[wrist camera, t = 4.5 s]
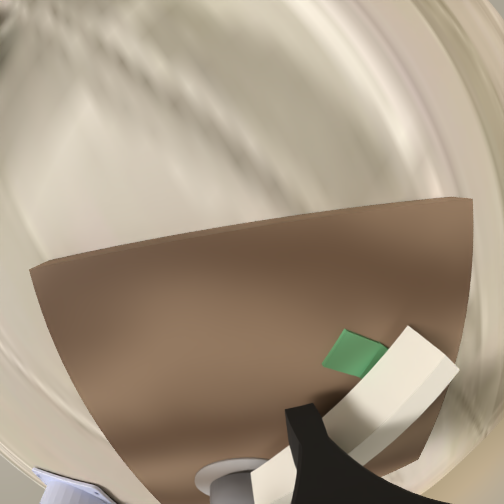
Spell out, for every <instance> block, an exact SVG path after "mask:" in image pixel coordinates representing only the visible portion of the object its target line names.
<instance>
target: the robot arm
mask: <svg viewBox="0 0 504 504" xmlns="http://www.w3.org/2000/svg"><path fill="white" fill-rule="evenodd" d="M285 417H286V425H287V433H288V442H289V445H290V449H291V453H292V457H293V461H294V464H295V467H296V469H297V474H296V480H295V486H294V491H293V496H292V500H291V504H450V503H446V502H441V501H437V500H433V499H430V498H426V497H423V496H421V495H418V494H415V493H412V492H410V491H407V490H405V489H403V488H401V487H399V486H396V485H394V484H392V483H390V482H388V481H386V480H384V479H383V478H381V477H379V476H378V475H376V474H374V473H373V472H371V471H370V470H368V469H367V468H365V467H364V466H362V465H361V464H359V463H358V462H357V461H355V460H354V459H353V458H352V457H350V456H349V455H348V454H347V453H346V452H344V451H343V450H342V449H341V448H340V447H339V446H338V445H337V444H336V443H335V442H334V441H333V440H332V439H331V438H330V437H328V434H327V431H326V428H325V425H324V423H323V420H322V417H321V415H320V413H319V412H318V410H317V408H316V407H315V405H314V404H313V403H310V404H306V405H302V406H297V407H293V408H288V409H285ZM32 471H33V472H34V473H35V474H36V475H37V476H38V477H39V478H40V479H41V480H42V481H43V482H44V483H45V484H46V485H47V487H46V489H45V492H44V494H43V496H42V498H41V501H40V503H39V504H116V503H115V502H114V501H113V500H112V499H111V498H110V497H108V496H107V495H106V494H105V493H104V492H103V491H102V490H101V489H100V488H99V487H97V486H95V485H92V484H88V483H84V482H80V481H76V480H72V479H68V478H65V477H61V476H58V475H55V474H52V473H49V472H46V471H43V470H40V469H37V468H34V467H33V469H32Z"/></svg>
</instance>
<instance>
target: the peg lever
mask: <svg viewBox="0 0 504 504" xmlns="http://www.w3.org/2000/svg"><path fill="white" fill-rule="evenodd" d="M459 370H460V369H459V368H458V367H457V366H456V365H455V364H454V363H453V362H452V361H451V360H450V359H449V358H448V357H447V356H446V355H445V354H444V353H442V352H441V351H440V350H439V349H437V348H436V347H435V346H434V345H432V344H431V343H430V342H429V341H427V340H426V339H425V338H423V337H422V336H421V335H420V334H418V333H417V332H416V331H415V330H413V329H412V328H411V327H409V326H407V327H406V328H405V330H404V331H403V332H402V333H401V335H400V336H399V337H398V339H397V340H396V341H395V342H394V343H393V345H392V346H391V347H390V348H389V349H388V351H387V352H386V353H385V354H384V355H383V357H382V358H381V359H380V360H379V361H378V362H377V363H376V364H375V366H374V367H373V368H372V369H371V370H370V371H369V372H368V373H367V374H366V375H365V377H364V378H363V379H362V380H361V381H360V382H359V383H358V384H357V385H356V386H355V387H354V388H353V389H352V390H351V391H350V392H349V393H348V394H347V395H346V396H345V397H344V398H343V399H342V400H341V401H340V402H339V403H338V404H337V405H336V406H335V407H333V408H332V409H331V410H330V411H329V412H328V413H327V414H326V415H325V416H324V417H323V418H322V420H323V423H324V425H325V428H326V431H327V434H328V437H330V438H331V439H332V440H333V441H334V442H335V443H336V444H337V445H338V446H339V447H340V448H341V449H342V450H343V451H344V452H346V453H347V454H348V455H349V456H350V457H352V458H353V459H354V460H355V461H357V462H358V463H359V464H361V465H362V466H363V465H365V464H366V463H367V462H369V461H370V460H371V459H372V458H374V457H375V456H376V455H377V454H379V453H380V452H381V451H382V450H384V449H385V448H386V447H387V446H388V445H389V444H391V443H392V442H393V441H394V440H395V439H396V438H397V437H398V436H400V435H401V434H402V433H403V432H404V431H405V430H406V429H407V428H408V427H409V426H410V425H411V424H412V423H413V422H414V421H415V420H416V419H417V418H418V417H419V416H420V415H421V414H422V413H423V412H424V411H425V410H426V409H427V408H428V407H429V406H430V405H431V404H432V403H433V401H434V400H435V399H436V398H437V397H438V396H439V395H440V394H441V392H442V391H443V390H444V389H445V388H446V386H447V385H448V384H449V383H450V382H451V380H452V379H453V378H454V377H455V375H456V374H457V373H458V372H459ZM296 474H297V469H296V467H295V464H294V461H293V457H292V453H291V449H290V445H289V446H288V447H286V448H285V449H284V450H282V451H281V452H280V453H278V454H277V455H276V456H274V457H273V458H271V459H270V460H269V461H267V462H266V463H264V464H263V465H261V466H260V467H259V468H257V469H256V470H254V471H253V472H251V473H237V474H231V475H226V476H223V477H220V478H218V479H216V480H214V481H213V482H212V483H211V484H210V504H291V500H292V496H293V491H294V486H295V480H296Z"/></svg>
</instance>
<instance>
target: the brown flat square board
mask: <svg viewBox="0 0 504 504" xmlns="http://www.w3.org/2000/svg"><path fill="white" fill-rule="evenodd" d="M472 255H473V199H469V198H458V197H444V198H434V199H424V200H414V201H405V202H396V203H387V204H379V205H370V206H362V207H354V208H346V209H339V210H331V211H324V212H316V213H309V214H302V215H295V216H288V217H282V218H275V219H268V220H262V221H255V222H249V223H243V224H237V225H230V226H224V227H218V228H212V229H206V230H201V231H195V232H189V233H184V234H178V235H172V236H167V237H161V238H156V239H151V240H145V241H140V242H135V243H130V244H125V245H120V246H115V247H110V248H105V249H100V250H95V251H90V252H85V253H81V254H76V255H71V256H67V257H62V258H58V259H53V260H49V261H47V262H45V263H42V264H40V265H38V266H36V267H34V268H31V269H29V271H30V275H31V278H32V282H33V285H34V289H35V292H36V295H37V298H38V301H39V304H40V307H41V310H42V313H43V316H44V319H45V321H46V324H47V327H48V329H49V332H50V334H51V337H52V339H53V342H54V344H55V346H56V349H57V351H58V353H59V355H60V358H61V360H62V362H63V364H64V366H65V368H66V370H67V372H68V374H69V376H70V378H71V380H72V382H73V384H74V386H75V388H76V390H77V391H78V393H79V395H80V397H81V398H82V400H83V402H84V404H85V405H86V407H87V409H88V410H89V412H90V414H91V415H92V417H93V418H94V420H95V422H96V423H97V425H98V426H99V428H100V429H101V431H102V432H103V434H104V435H105V437H106V438H107V440H108V441H109V442H110V444H111V445H112V447H113V448H114V449H115V451H116V452H117V453H118V455H119V456H120V457H121V458H122V460H123V461H124V462H125V464H126V465H127V466H128V467H129V469H130V470H131V471H132V472H133V473H134V475H135V476H136V477H137V478H138V479H139V480H140V482H141V483H142V484H143V485H144V486H145V487H146V488H147V489H148V490H149V491H150V493H151V494H152V495H153V496H154V497H155V498H156V499H157V500H158V501H159V502H160V503H161V504H210V484H211V483H212V482H213V481H214V480H216V479H218V478H220V477H223V476H226V475H231V474H237V473H251V472H253V471H254V470H256V469H257V468H259V467H260V466H261V465H263V464H264V463H266V462H267V461H269V460H270V459H271V458H273V457H274V456H276V455H277V454H278V453H280V452H281V451H282V450H284V449H285V448H286V447H288V446H289V442H288V433H287V425H286V417H285V409H288V408H293V407H297V406H302V405H306V404H310V403H313V404H314V405H315V407H316V408H317V410H318V412H319V413H320V415H321V417H322V418H323V417H324V416H325V415H326V414H327V413H328V412H329V411H330V410H331V409H332V408H333V407H335V406H336V405H337V404H338V403H339V402H340V401H341V400H342V399H343V398H344V397H345V396H346V395H347V394H348V393H349V392H350V391H351V390H352V389H353V388H354V387H355V386H356V385H357V384H358V383H359V382H360V381H361V380H362V379H363V378H364V377H365V375H366V374H367V373H368V372H369V371H370V370H371V369H372V368H373V367H374V366H375V364H376V363H377V362H378V361H379V360H380V359H381V358H382V357H383V355H384V354H385V353H386V352H387V351H388V349H389V348H390V347H391V346H392V345H393V343H394V342H395V341H396V340H397V339H398V337H399V336H400V335H401V333H402V332H403V331H404V330H405V328H406V327H407V326H409V327H411V328H412V329H413V330H415V331H416V332H417V333H418V334H420V335H421V336H422V337H423V338H425V339H426V340H427V341H429V342H430V343H431V344H432V345H434V346H435V347H436V348H437V349H439V350H440V351H441V352H442V353H444V354H445V355H446V356H447V357H448V358H449V359H450V360H451V361H452V362H453V363H454V364H455V362H456V358H457V354H458V350H459V346H460V342H461V337H462V333H463V328H464V322H465V317H466V311H467V304H468V297H469V290H470V281H471V270H472ZM448 386H449V384H448V385H447V386H446V388H445V389H444V390H443V391H442V392H441V394H440V395H439V396H438V397H437V398H436V399H435V400H434V401H433V403H432V404H431V405H430V406H429V407H428V408H427V409H426V410H425V411H424V412H423V413H422V414H421V415H420V416H419V417H418V418H417V419H416V420H415V421H414V422H413V423H412V424H411V425H410V426H409V427H408V428H407V429H406V430H405V431H404V432H403V433H402V434H401V435H400V436H398V437H397V438H396V439H395V440H394V441H393V442H392V443H391V444H389V445H388V446H387V447H386V448H385V449H384V450H382V451H381V452H380V453H379V454H377V455H376V456H375V457H374V458H372V459H371V460H370V461H369V462H367V463H366V464H365V465H363V466H364V467H365V468H367V469H368V470H370V471H371V472H373V473H374V474H376V475H378V476H379V477H382V476H384V475H387V474H389V473H391V472H393V471H396V470H398V469H400V468H402V467H404V466H406V465H408V464H410V463H412V462H414V461H416V460H418V459H419V457H420V455H421V453H422V451H423V449H424V446H425V444H426V442H427V440H428V438H429V436H430V433H431V431H432V429H433V426H434V424H435V422H436V419H437V417H438V414H439V411H440V409H441V406H442V403H443V401H444V398H445V395H446V392H447V389H448Z"/></svg>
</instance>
